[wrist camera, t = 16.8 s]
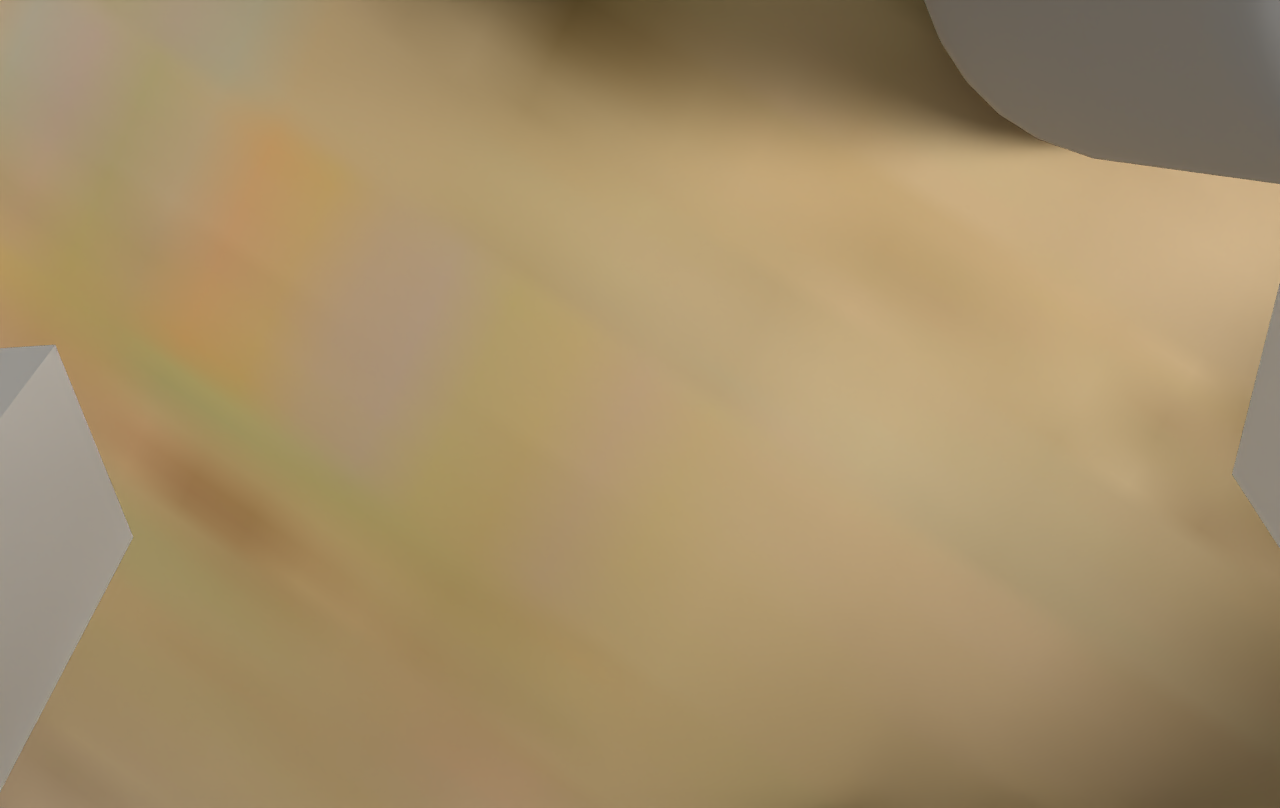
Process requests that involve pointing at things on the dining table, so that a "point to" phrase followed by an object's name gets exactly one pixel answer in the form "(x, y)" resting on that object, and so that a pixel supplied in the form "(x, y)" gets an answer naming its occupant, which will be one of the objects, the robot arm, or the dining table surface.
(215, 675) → the dining table surface
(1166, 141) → the jar
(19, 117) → the dining table surface
